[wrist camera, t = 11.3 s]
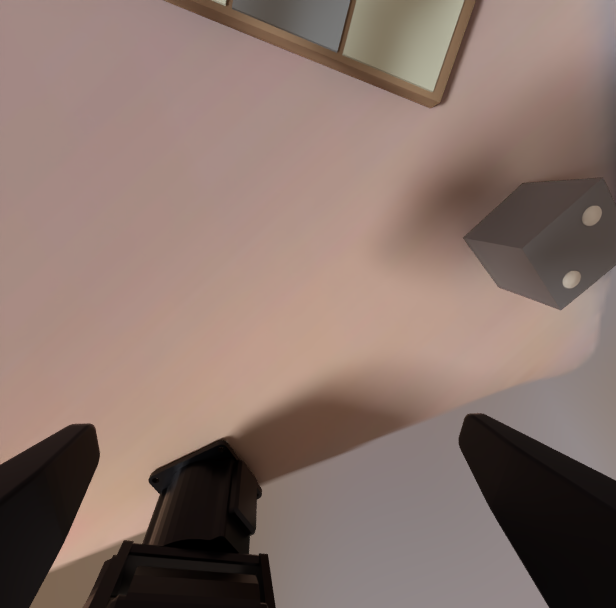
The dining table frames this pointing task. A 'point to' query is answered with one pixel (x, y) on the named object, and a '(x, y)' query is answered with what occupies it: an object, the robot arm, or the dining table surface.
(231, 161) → the dining table surface
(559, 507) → the robot arm
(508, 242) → the die
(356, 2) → the board
